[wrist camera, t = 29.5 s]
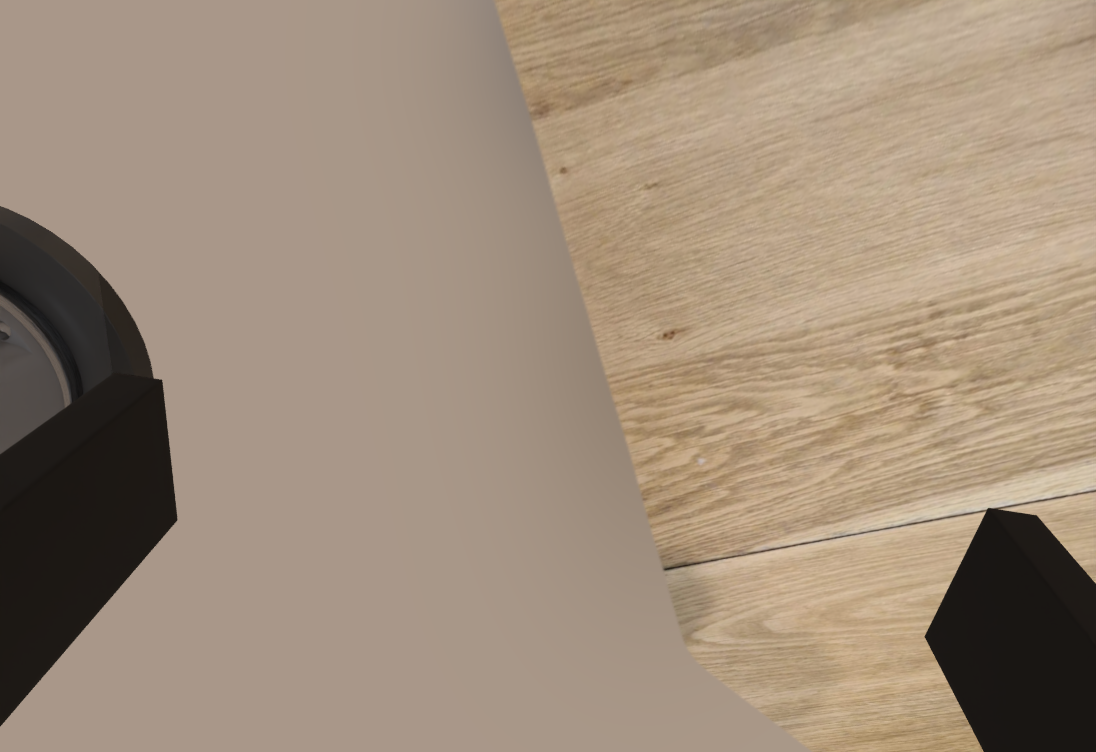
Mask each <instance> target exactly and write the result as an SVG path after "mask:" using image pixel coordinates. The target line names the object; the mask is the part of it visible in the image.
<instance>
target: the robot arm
mask: <svg viewBox="0 0 1096 752" xmlns="http://www.w3.org/2000/svg"><path fill="white" fill-rule="evenodd" d="M176 521H177V512H176V502H175V493H174V484H173V474H172V466H171V456H170V447H169V438H168V429H167V420H166V410H165V401H164V392H163V383H162V380H159V379H153V378H147V377H140V376H134V375H127V374H121V373H113V374H111V375H110V376H109V377H107V378H106V379H105V380H103V381H102V382H100V383H99V384H98V385H96V386H95V387H93V388H92V389H91V390H89V391H88V392H86V393H85V394H84V395H83V390H82V383H81V378H80V374H79V371H78V368H77V365H76V363H75V360H74V358H73V356H72V354H71V352H70V350H69V348H68V346H67V344H66V343H65V341H64V340H63V338H62V337H61V335H60V334H59V332H58V331H57V330H56V328H55V327H54V326H53V325H52V323H51V322H50V321H49V320H48V319H47V318H46V316H45V315H44V314H43V313H42V312H41V311H40V310H39V309H38V308H37V307H35V306H34V305H33V304H32V303H31V302H30V301H29V300H27V299H26V298H25V297H24V296H22V295H21V294H20V293H18V292H17V291H15V290H14V289H12V288H11V287H9V286H8V285H6V284H5V283H3V282H1V281H0V726H1V725H2V724H3V723H4V722H5V720H6V719H7V718H8V717H9V716H10V715H11V713H12V712H13V711H14V710H15V709H16V708H17V706H18V705H19V704H20V703H21V702H22V701H23V699H24V698H25V697H26V696H27V695H28V694H29V692H30V691H31V690H32V689H33V688H34V687H35V685H36V684H37V683H38V682H39V680H41V678H42V677H43V676H44V675H45V674H46V673H47V672H48V670H49V669H50V668H51V667H52V666H53V665H54V663H55V662H56V661H57V660H58V659H59V658H60V656H61V655H62V654H63V653H64V652H65V651H66V649H67V648H68V647H69V646H70V645H71V643H72V642H73V641H74V640H75V639H76V637H78V635H79V634H80V633H81V632H82V630H84V628H85V627H86V626H87V625H88V624H89V623H90V621H91V620H92V619H93V618H94V617H95V616H96V614H97V613H98V612H99V611H100V610H101V609H102V607H103V606H104V605H105V604H106V603H107V602H108V600H109V599H110V598H111V597H112V596H113V595H114V593H115V592H116V591H117V590H118V589H119V588H120V586H121V585H122V584H123V583H124V582H125V581H126V579H127V578H128V577H129V576H130V575H131V574H132V572H133V571H134V570H135V569H136V568H137V567H138V565H139V564H140V563H141V562H142V561H143V560H144V558H145V557H146V556H147V555H148V554H149V553H150V552H151V550H152V549H153V548H154V547H155V546H156V544H157V543H158V542H159V541H160V540H161V539H162V538H163V536H164V535H165V534H166V533H167V532H168V531H169V529H170V528H171V527H172V526H173V525H174V523H175V522H176ZM925 638H926V640H927V642H928V644H929V646H930V648H931V650H932V652H933V654H934V656H935V658H936V660H937V662H938V664H939V666H940V667H941V669H942V671H943V673H944V675H945V677H946V679H947V681H948V683H949V685H950V687H951V689H952V691H953V693H954V695H955V697H956V699H957V701H958V702H959V704H960V706H961V708H962V710H963V712H964V714H965V716H966V718H967V720H968V722H969V724H970V726H971V728H972V730H973V732H974V734H975V736H976V737H977V739H978V741H979V743H980V745H981V747H982V749H983V751H984V752H1096V583H1095V582H1094V581H1093V580H1092V579H1091V578H1090V577H1089V575H1088V574H1087V573H1086V572H1085V571H1084V570H1083V568H1082V567H1081V566H1080V565H1079V564H1078V563H1077V562H1076V560H1075V559H1074V558H1073V557H1072V556H1071V555H1070V553H1069V552H1068V551H1067V550H1066V549H1065V548H1064V546H1063V545H1062V544H1061V543H1060V542H1059V541H1058V540H1057V538H1056V537H1055V536H1054V535H1053V534H1052V533H1051V531H1050V530H1049V529H1048V528H1047V527H1046V526H1045V525H1044V523H1043V522H1042V521H1041V520H1040V519H1039V518H1038V516H1037V515H1030V514H1024V513H1017V512H1011V511H1004V510H998V509H992V508H988V509H987V511H986V513H985V515H984V517H983V519H982V521H981V523H980V525H979V528H978V530H977V532H976V534H975V536H974V538H973V540H972V542H971V544H970V546H969V548H968V550H967V552H966V554H965V556H964V558H963V560H962V562H961V564H960V566H959V568H958V570H957V572H956V574H955V576H954V578H953V580H952V582H951V584H950V586H949V588H948V590H947V592H946V594H945V596H944V598H943V600H942V603H941V605H940V607H939V609H938V611H937V613H936V615H935V617H934V619H933V621H932V623H931V625H930V627H929V629H928V631H927V633H926V635H925Z"/></svg>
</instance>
